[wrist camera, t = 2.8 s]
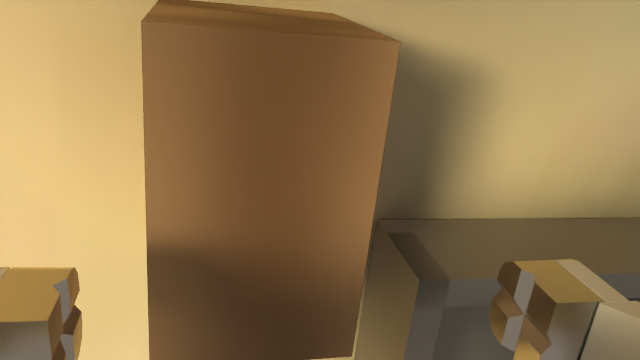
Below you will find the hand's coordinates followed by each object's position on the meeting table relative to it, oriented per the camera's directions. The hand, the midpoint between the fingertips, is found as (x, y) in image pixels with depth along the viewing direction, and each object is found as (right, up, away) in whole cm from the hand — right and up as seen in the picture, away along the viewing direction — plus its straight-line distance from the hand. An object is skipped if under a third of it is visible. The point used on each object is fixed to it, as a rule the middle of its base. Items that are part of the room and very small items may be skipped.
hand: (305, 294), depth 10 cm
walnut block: (-2, +4, +7) cm, 8 cm away
